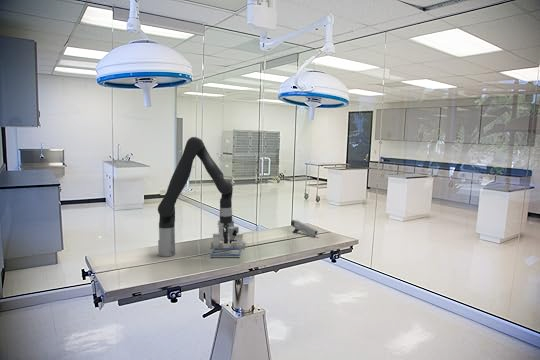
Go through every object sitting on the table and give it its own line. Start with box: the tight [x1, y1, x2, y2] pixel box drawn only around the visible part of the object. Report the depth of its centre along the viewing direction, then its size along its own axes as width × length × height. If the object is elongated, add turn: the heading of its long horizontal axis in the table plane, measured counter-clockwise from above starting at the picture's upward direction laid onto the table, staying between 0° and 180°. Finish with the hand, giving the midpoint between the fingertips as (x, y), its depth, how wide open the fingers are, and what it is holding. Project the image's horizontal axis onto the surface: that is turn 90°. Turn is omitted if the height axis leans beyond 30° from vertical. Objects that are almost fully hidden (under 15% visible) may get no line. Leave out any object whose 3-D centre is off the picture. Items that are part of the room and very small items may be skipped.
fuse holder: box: [209, 240, 246, 250], centre depth 226 cm, size 22×9×5 cm, turn 91°
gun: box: [290, 219, 319, 238], centre depth 266 cm, size 2×25×10 cm, turn 44°
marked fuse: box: [222, 232, 231, 248], centre depth 214 cm, size 4×4×9 cm
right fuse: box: [236, 232, 244, 248], centre depth 226 cm, size 4×4×9 cm
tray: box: [210, 248, 242, 259], centre depth 215 cm, size 17×13×2 cm
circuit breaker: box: [217, 219, 240, 242], centre depth 242 cm, size 8×14×15 cm, turn 53°
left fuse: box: [212, 232, 220, 248], centre depth 226 cm, size 4×4×9 cm
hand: (226, 242), depth 214 cm, fingers closed on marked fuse, 3 cm apart
